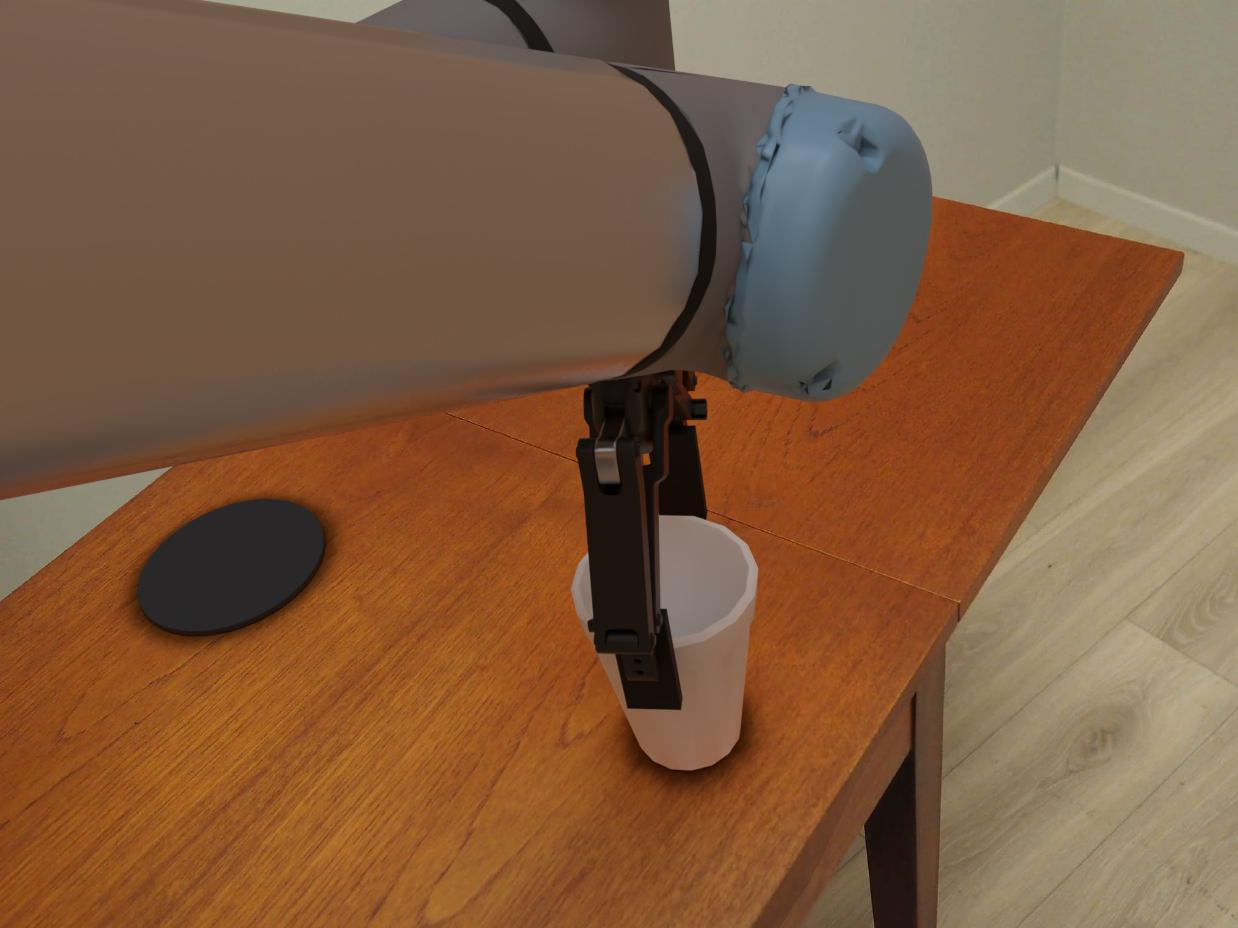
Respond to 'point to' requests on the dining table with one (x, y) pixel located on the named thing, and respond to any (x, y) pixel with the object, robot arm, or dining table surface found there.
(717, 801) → the dining table surface
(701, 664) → the cup
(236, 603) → the mat
